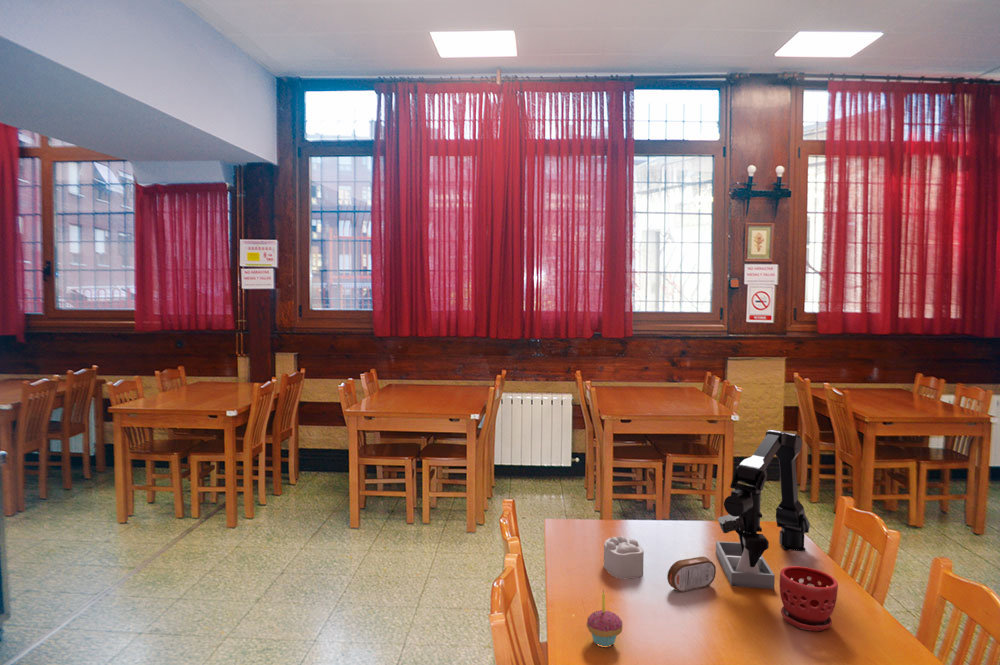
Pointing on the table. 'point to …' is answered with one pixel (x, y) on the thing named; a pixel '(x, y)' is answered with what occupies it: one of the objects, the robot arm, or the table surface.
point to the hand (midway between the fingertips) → (748, 559)
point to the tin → (691, 574)
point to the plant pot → (807, 597)
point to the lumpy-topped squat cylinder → (623, 557)
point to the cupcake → (604, 625)
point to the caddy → (729, 560)
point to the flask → (746, 564)
